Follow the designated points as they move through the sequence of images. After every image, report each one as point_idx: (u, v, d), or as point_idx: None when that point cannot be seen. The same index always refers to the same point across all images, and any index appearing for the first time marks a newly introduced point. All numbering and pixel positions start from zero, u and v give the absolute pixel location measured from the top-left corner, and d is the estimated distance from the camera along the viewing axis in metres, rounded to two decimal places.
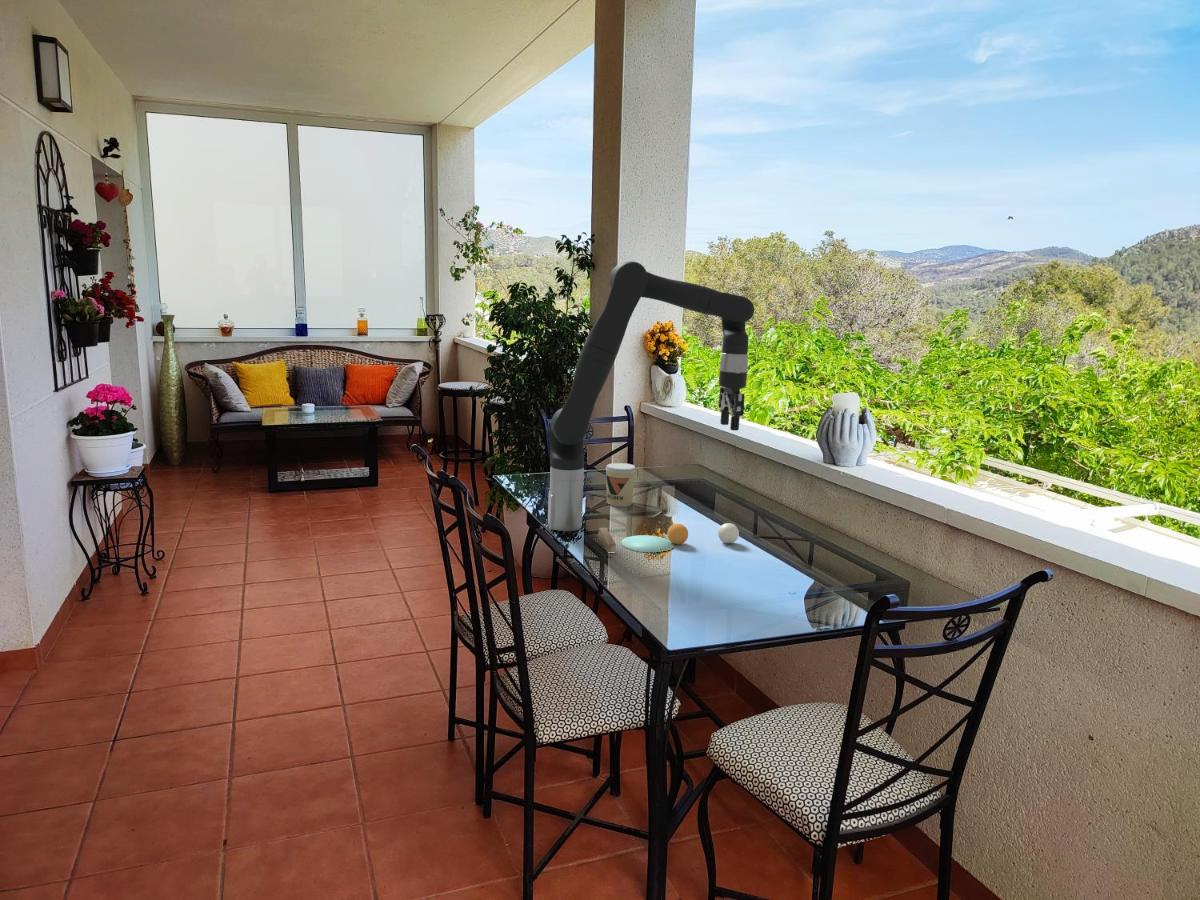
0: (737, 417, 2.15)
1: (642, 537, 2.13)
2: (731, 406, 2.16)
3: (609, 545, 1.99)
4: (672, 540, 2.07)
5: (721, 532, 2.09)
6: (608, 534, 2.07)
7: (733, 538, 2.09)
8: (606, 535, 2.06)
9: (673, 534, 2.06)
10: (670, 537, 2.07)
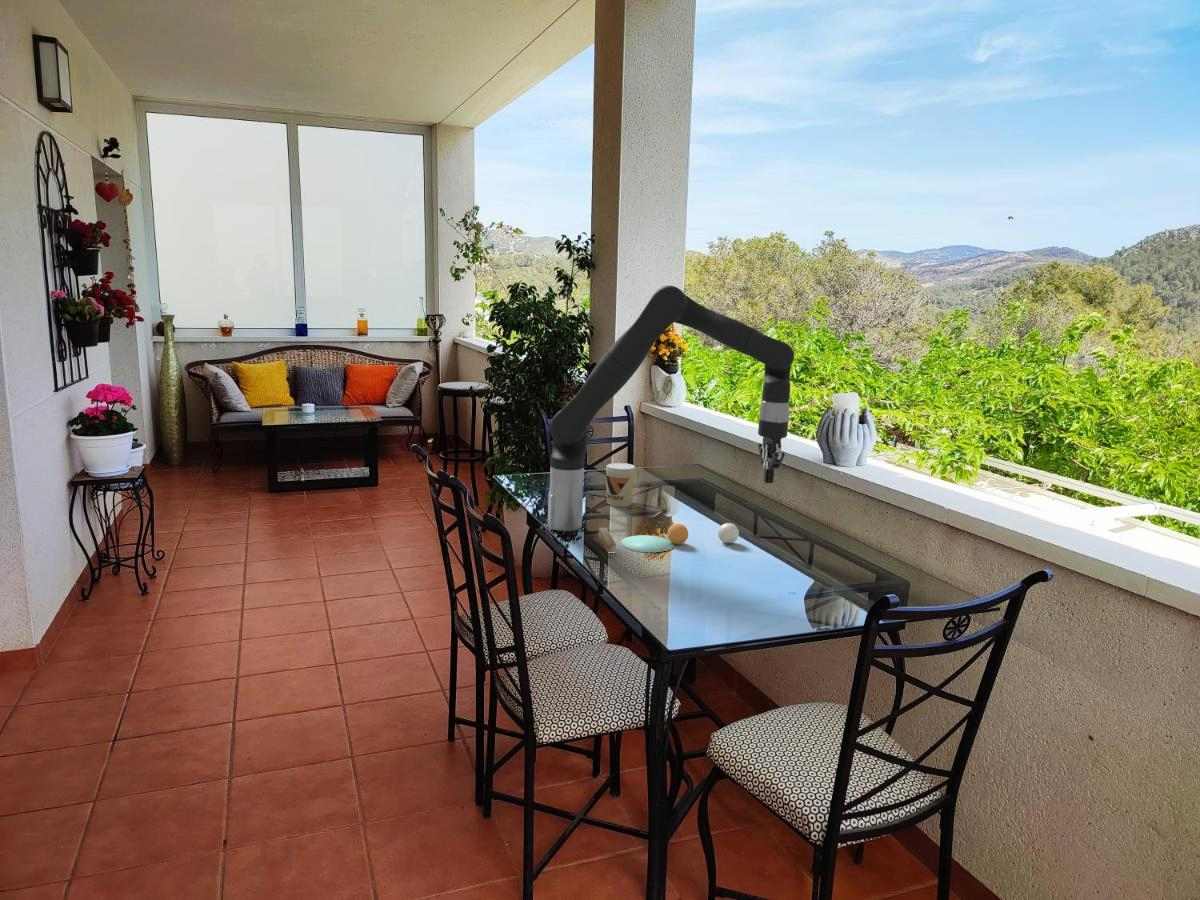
0: (772, 470, 2.08)
1: (642, 537, 2.13)
2: (768, 459, 2.07)
3: (609, 545, 1.99)
4: (672, 540, 2.07)
5: (721, 532, 2.09)
6: (608, 534, 2.07)
7: (733, 538, 2.09)
8: (606, 535, 2.06)
9: (673, 534, 2.06)
10: (670, 537, 2.07)
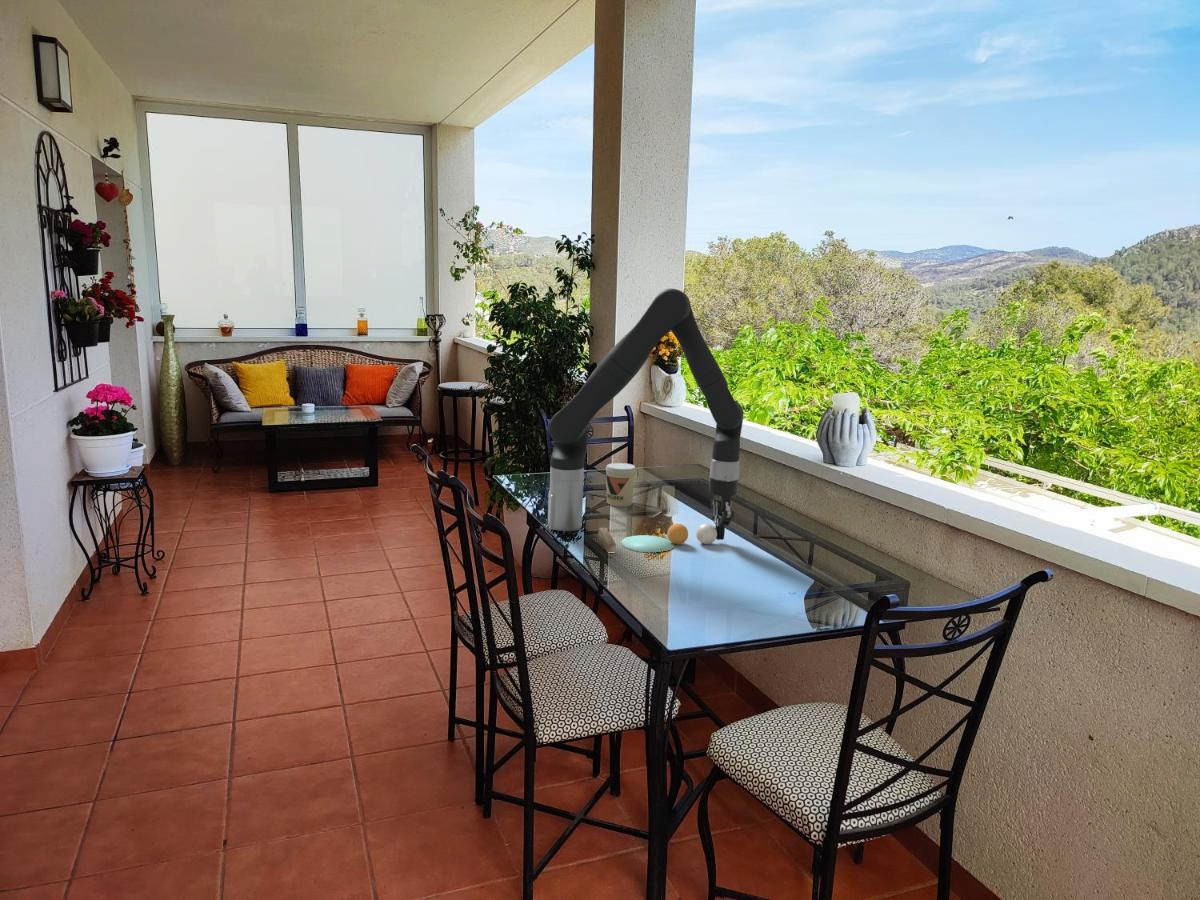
0: (722, 527, 2.09)
1: (642, 537, 2.13)
2: (718, 517, 2.08)
3: (609, 545, 1.99)
4: (672, 540, 2.07)
5: None
6: (608, 534, 2.07)
7: (711, 535, 2.07)
8: (606, 535, 2.06)
9: (673, 534, 2.06)
10: (670, 537, 2.07)
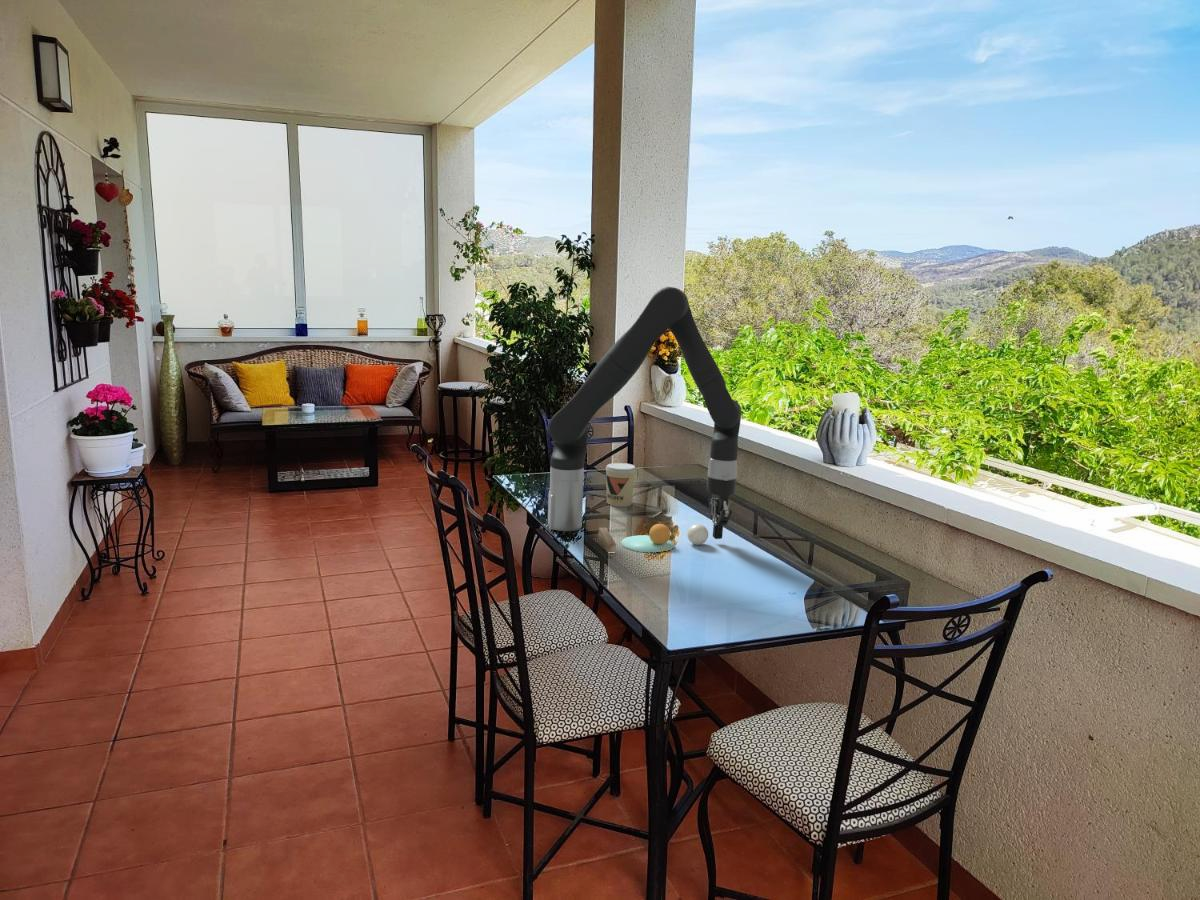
0: (720, 526, 2.09)
1: (642, 537, 2.13)
2: (716, 516, 2.08)
3: (609, 545, 1.99)
4: (666, 541, 2.07)
5: None
6: (608, 534, 2.07)
7: (700, 536, 2.06)
8: (606, 535, 2.06)
9: (660, 543, 2.06)
10: (664, 543, 2.07)
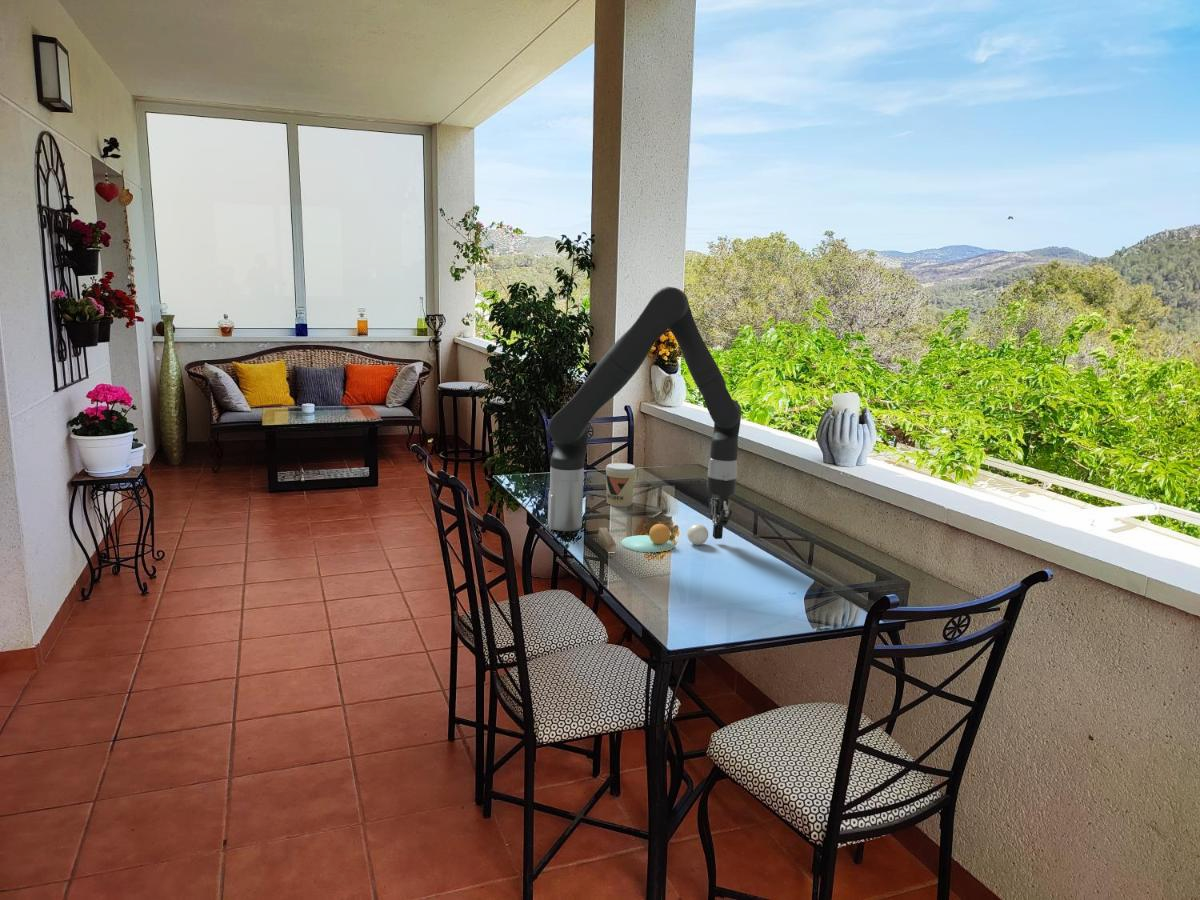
0: (720, 526, 2.09)
1: (642, 537, 2.13)
2: (716, 516, 2.08)
3: (609, 545, 1.99)
4: (666, 541, 2.07)
5: None
6: (608, 534, 2.07)
7: (700, 536, 2.06)
8: (606, 535, 2.06)
9: (660, 543, 2.06)
10: (664, 543, 2.07)
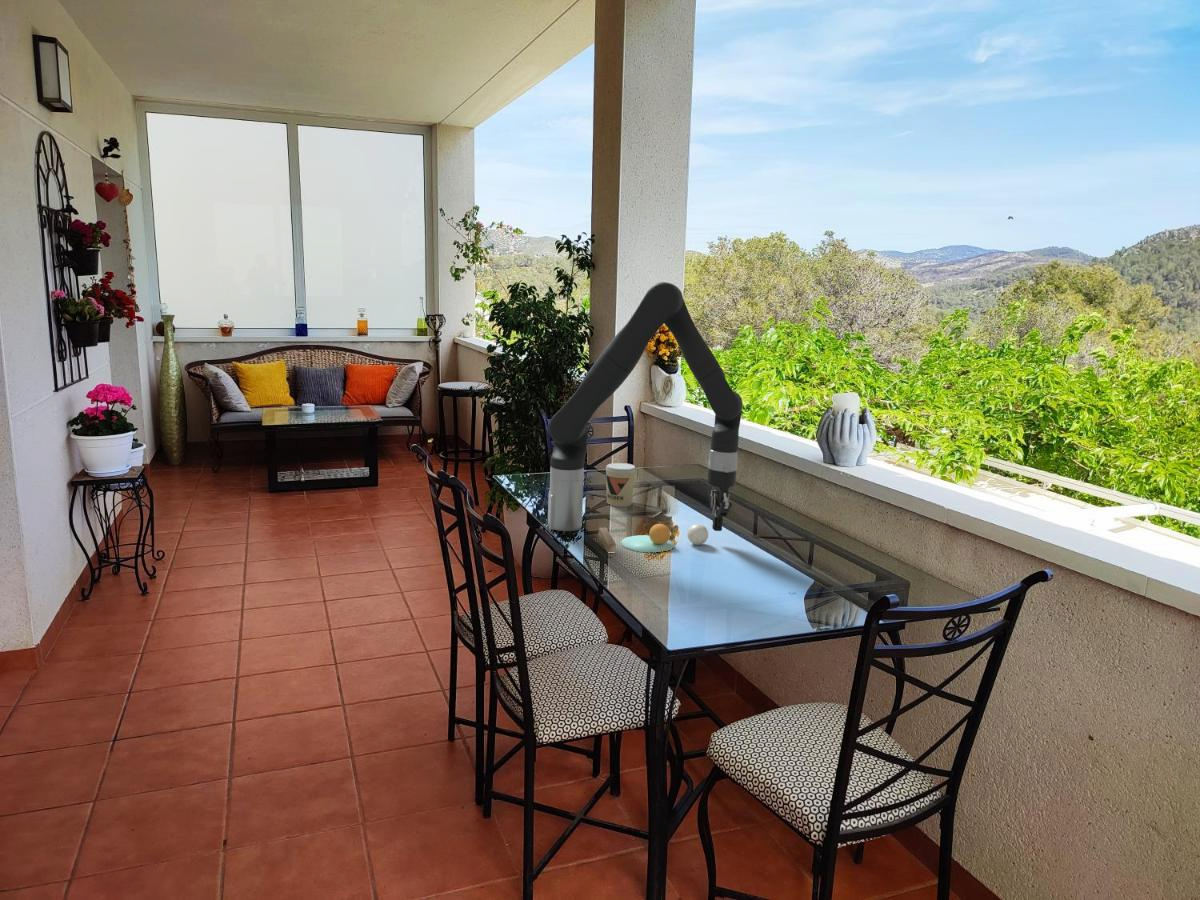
0: (720, 518, 2.08)
1: (642, 537, 2.13)
2: (716, 508, 2.07)
3: (609, 545, 1.99)
4: (666, 541, 2.07)
5: None
6: (608, 534, 2.07)
7: (700, 536, 2.06)
8: (606, 535, 2.06)
9: (660, 543, 2.06)
10: (664, 543, 2.07)
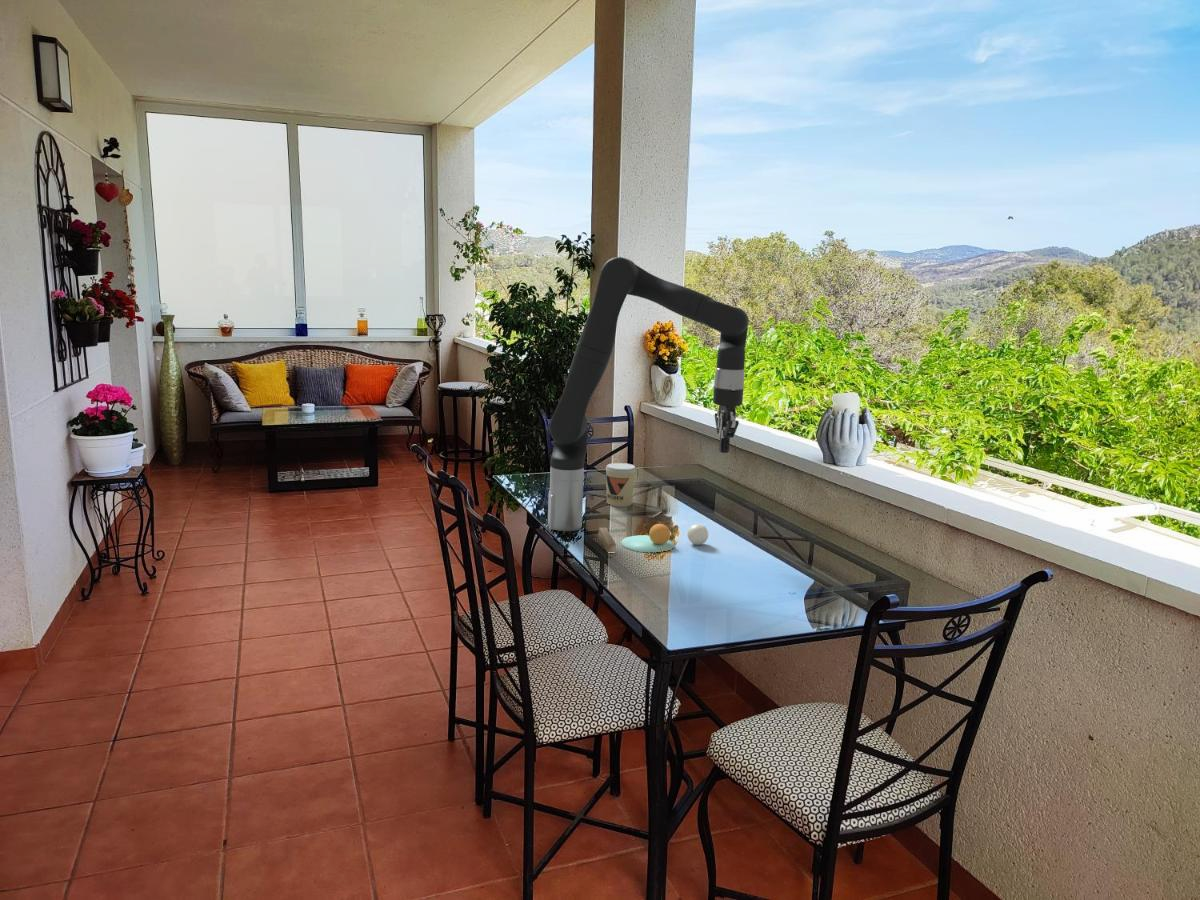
0: (727, 439, 2.04)
1: (642, 537, 2.13)
2: (723, 428, 2.03)
3: (609, 545, 1.99)
4: (666, 541, 2.07)
5: None
6: (608, 534, 2.07)
7: (700, 536, 2.06)
8: (606, 535, 2.06)
9: (660, 543, 2.06)
10: (664, 543, 2.07)
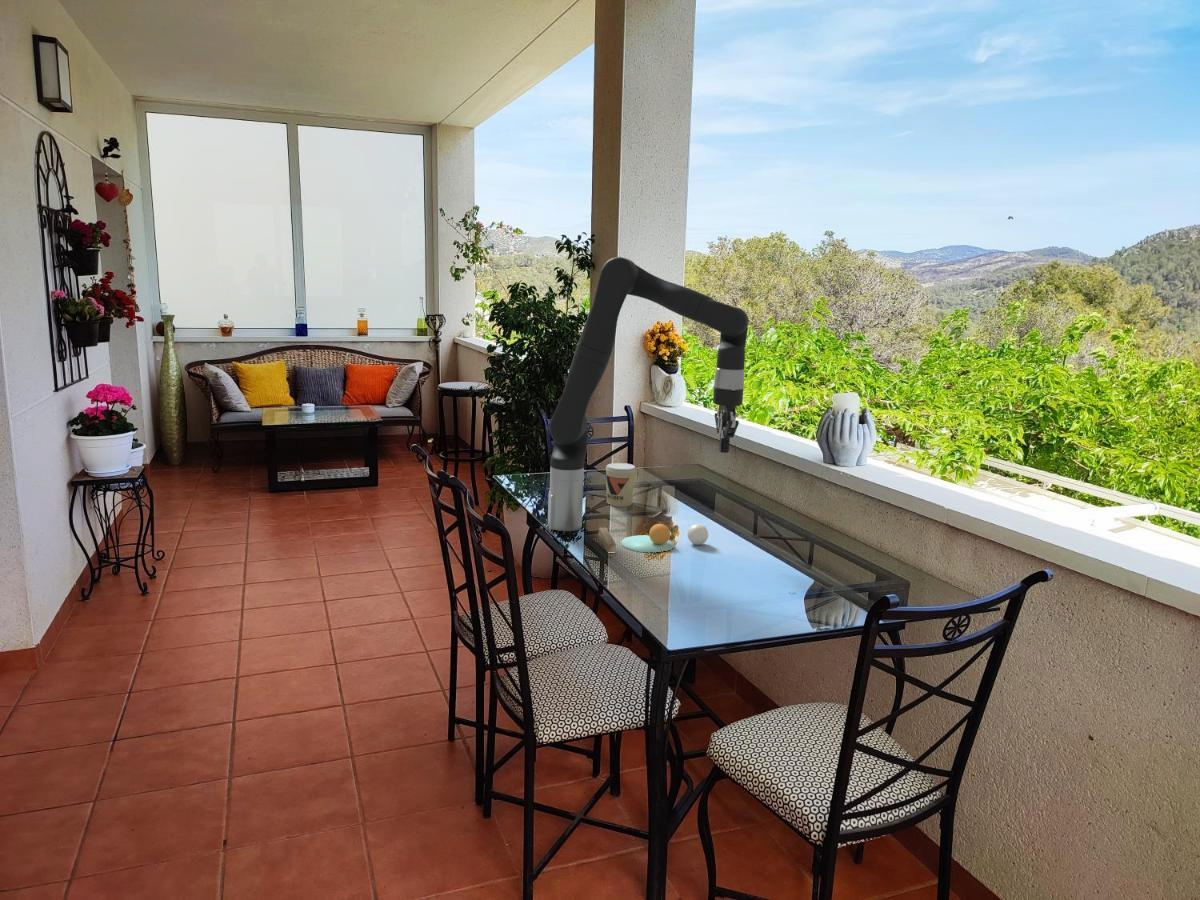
0: (727, 439, 2.04)
1: (642, 537, 2.13)
2: (723, 428, 2.03)
3: (609, 545, 1.99)
4: (666, 541, 2.07)
5: None
6: (608, 534, 2.07)
7: (700, 536, 2.06)
8: (606, 535, 2.06)
9: (660, 543, 2.06)
10: (664, 543, 2.07)
